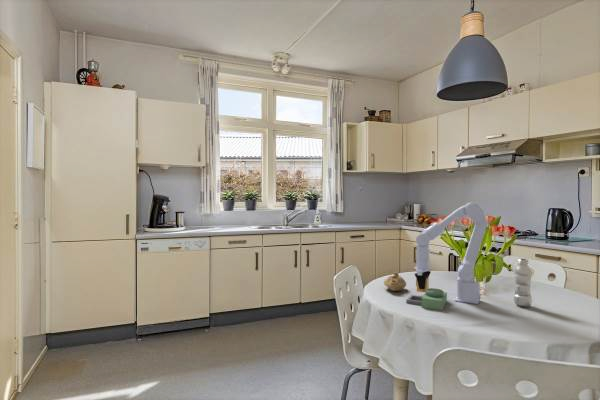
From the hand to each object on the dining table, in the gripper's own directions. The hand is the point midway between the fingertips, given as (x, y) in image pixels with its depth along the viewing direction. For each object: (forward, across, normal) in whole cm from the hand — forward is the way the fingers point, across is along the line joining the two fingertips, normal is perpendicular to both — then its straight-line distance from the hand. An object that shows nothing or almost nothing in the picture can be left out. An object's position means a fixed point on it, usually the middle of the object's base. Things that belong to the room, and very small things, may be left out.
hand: (422, 287), depth 168 cm
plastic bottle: (+4, -6, +40) cm, 41 cm away
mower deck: (+4, +10, +3) cm, 11 cm away
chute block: (+2, 0, 0) cm, 2 cm away
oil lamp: (+4, -4, -14) cm, 15 cm away
